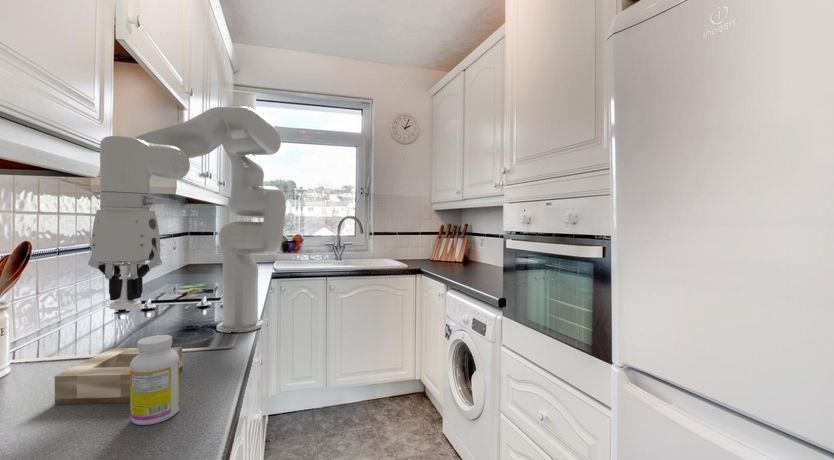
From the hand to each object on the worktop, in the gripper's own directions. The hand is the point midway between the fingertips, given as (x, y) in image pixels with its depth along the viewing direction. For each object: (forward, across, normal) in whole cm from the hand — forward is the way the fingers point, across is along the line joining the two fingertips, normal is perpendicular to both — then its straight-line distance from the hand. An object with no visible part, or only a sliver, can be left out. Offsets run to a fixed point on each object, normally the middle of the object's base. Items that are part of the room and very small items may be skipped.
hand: (125, 298), depth 72 cm
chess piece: (+2, 0, 0) cm, 2 cm away
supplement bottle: (+17, -12, +12) cm, 24 cm away
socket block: (+17, 0, 0) cm, 17 cm away
